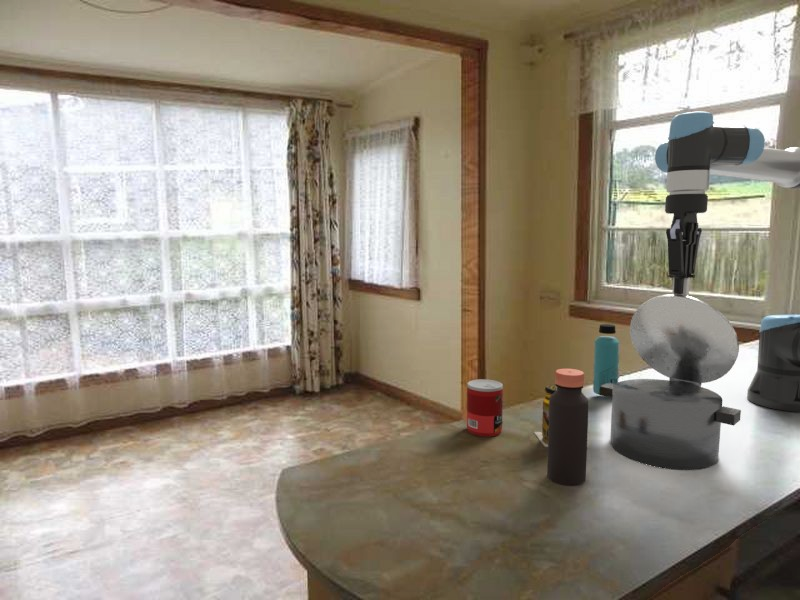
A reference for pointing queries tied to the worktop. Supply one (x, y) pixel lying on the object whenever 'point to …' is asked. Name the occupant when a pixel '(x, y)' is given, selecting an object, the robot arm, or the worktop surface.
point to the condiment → (546, 415)
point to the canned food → (484, 407)
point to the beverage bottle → (606, 358)
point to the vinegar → (568, 429)
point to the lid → (684, 339)
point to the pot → (667, 422)
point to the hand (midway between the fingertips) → (679, 309)
